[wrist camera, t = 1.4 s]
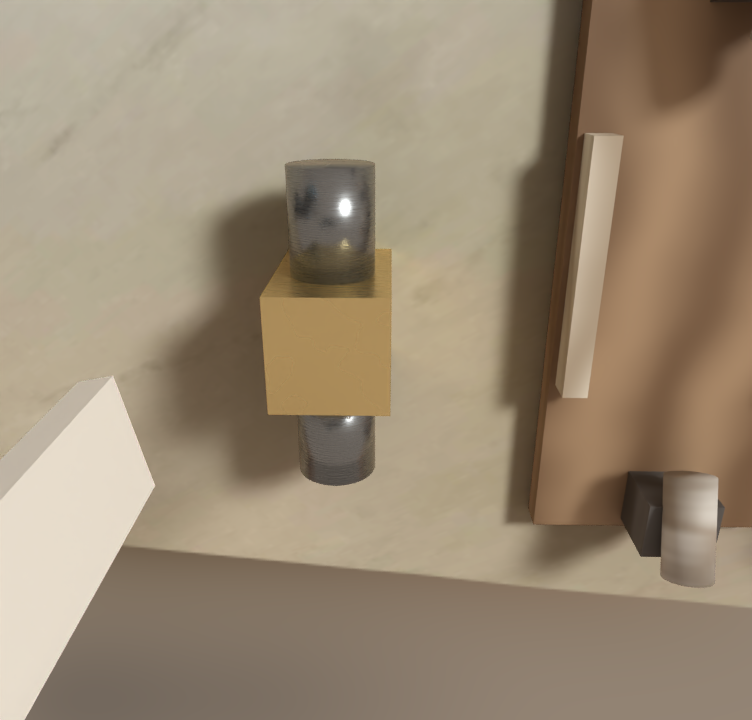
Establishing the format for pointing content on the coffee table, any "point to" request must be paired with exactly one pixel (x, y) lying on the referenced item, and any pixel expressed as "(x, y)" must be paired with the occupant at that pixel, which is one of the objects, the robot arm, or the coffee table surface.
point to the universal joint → (330, 320)
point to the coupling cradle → (653, 285)
